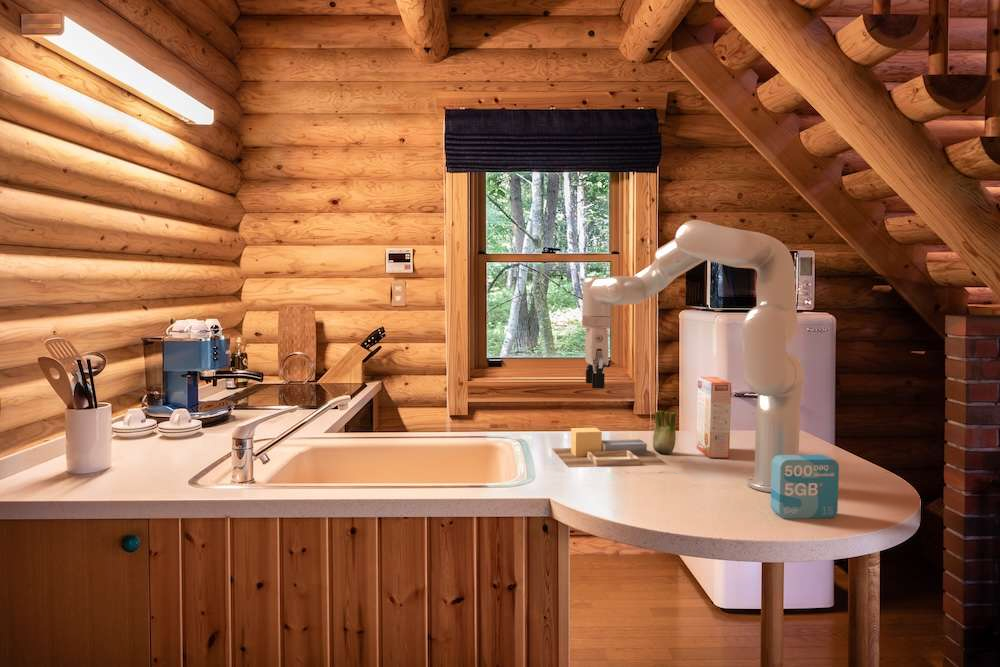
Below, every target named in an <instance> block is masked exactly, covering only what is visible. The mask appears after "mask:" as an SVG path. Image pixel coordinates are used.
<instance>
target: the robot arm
mask: <svg viewBox="0 0 1000 667" xmlns="http://www.w3.org/2000/svg"><path fill="white" fill-rule="evenodd" d="M792 256H793V255H792V254H791V252H790V250H789V249H788V247H787V246H786V245H785V244H784V243H783V242H782V241H781V240H779V239H777V238H775V237H773V236H771V235H768V234H766V233H761V232H758V231H753V230H752V231H751V230H746V229H745V230H744V229H738V228H734V227H729V226H724V225H721V224H720V225H718V224H716V223H713V222H709V221H705V220H701V219H699V220H698V219H691V220H688V221H685V222H684V223H683V224H682V225H680V227H679V228H678V229H677V231H676V232H675V236H674V238H673V239H672V240H670V241H668V242H667V243H666V244H664V245H662V246H661V247H659V248H658V249H656V251H655V253H654V261H653V262H652V263H651V264H650V265H649V266H647V267H645V268H644V269H643V270H641V271H639V272H638V273H636V274H635V275H632V276H631V275H630V276H628V275H620V276H619V275H616V276H609V277H605V276H589V277H585V278H584V279H583V281H582V282H583V283H582V311H581V312H582V315H581V316H582V317H581V318H582V320H581V328H582V329H585V339H584V340H585V342H584V358H585V359H584V361H585V362H586V365H585V367H586V368H585V383H586V384H591V388H592V389H605V379H606V378H605V376H606V374H605V366H608V365H609V332H608V329H611V306H612V305H613V306H614V305H615V306H625V305H627V306H628V305H631V306H632V305H637V304H640V303H642V302H644V301H646V300H648V299H650V298H651V297H653V296H655V295H656V294H658V293H660V292H661V291H663V290H664V289H666V288H667V287H668V286H669V285H670V284H671V283H672V282H673V281H674V280H675V279H676V278H678V277H679V276H681V275H683V274H685V273H686V272H688V271H690V270H691V269H693V268H695V267H697V266H698V265H700V264H701V263H704V262H705V261H707V262H712V263H716V264H720V265H724V266H727V267H733V268H742V269H752V270H753V269H754V270H755V271H756V274H757V276H756V283H755V295H756V296H755V297H756V306H754V307H752V308H751V309H750V310H749V311H747V313H746V314H745V316H744V318H743V321H742V326H741V345H742V346H741V349H742V350H741V351H742V370H743V371H742V372H743V378H744V381H745V384H746V385H747V387H748V388H749V390H751V391H752V393H754V394H756V395H757V400H756V408H755V409H756V411H755V441H754V442H755V444H754V446H755V447H754V475H753V476H750V477H748V478H747V481H746V482H747V484H746V485H747V486H749V487H750V488H752V489H754V490H758V491H760V492H761V491H762V492H766V493H771V468H772V460H773V458H774V457H775V456H777V455H800V428H801V427H800V426H801V425H800V423H801V405H802V396H803V389H804V382H805V381H804V380H805V373H804V367H803V364H802V362H801V361H800V359H799V358H798V357H797V356H796V355H794V354H793V353H791V352H789V351H787V343H789V342H791V341H792V340H793V339H794V338H795V337H796V335H797V332H798V328H799V327H798V325H799V324H798V315H797V314H798V313H797V312H798V310H797V293H796V279H795V278H796V276H795V274H796V272H795V263H794V260H793V257H792Z"/></svg>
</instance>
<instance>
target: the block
mask: <svg viewBox="0 0 1000 667" xmlns="http://www.w3.org/2000/svg"><path fill="white" fill-rule="evenodd" d="M602 434H603V433H602V430H600V429H599V428H598V427H572V428H570V448H571V452H572V453H573V454H574V455H575V456H587V451H601V448H602V440H603V439H602Z"/></svg>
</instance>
